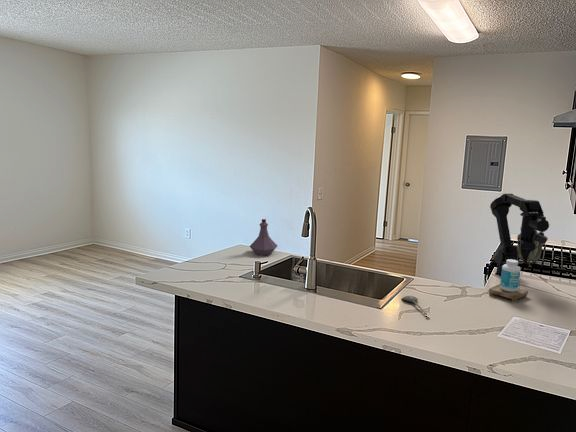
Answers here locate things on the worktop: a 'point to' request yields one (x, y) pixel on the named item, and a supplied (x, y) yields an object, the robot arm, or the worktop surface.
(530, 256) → the tabletop clock
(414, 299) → the soupspoon
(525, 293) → the small wooden pallet
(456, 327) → the worktop surface
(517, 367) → the worktop surface
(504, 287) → the pill bottle
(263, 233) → the flask
